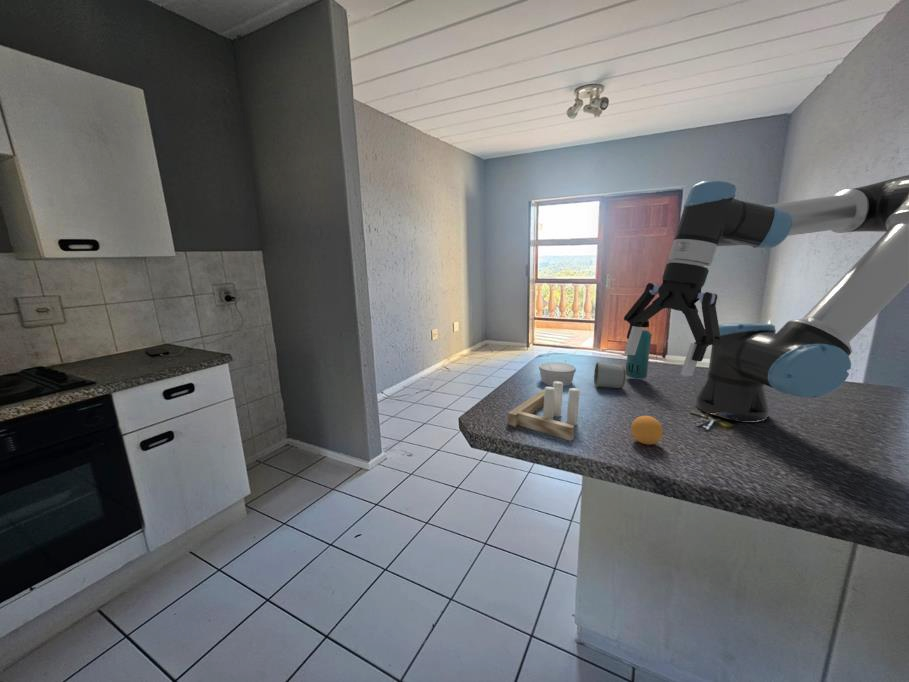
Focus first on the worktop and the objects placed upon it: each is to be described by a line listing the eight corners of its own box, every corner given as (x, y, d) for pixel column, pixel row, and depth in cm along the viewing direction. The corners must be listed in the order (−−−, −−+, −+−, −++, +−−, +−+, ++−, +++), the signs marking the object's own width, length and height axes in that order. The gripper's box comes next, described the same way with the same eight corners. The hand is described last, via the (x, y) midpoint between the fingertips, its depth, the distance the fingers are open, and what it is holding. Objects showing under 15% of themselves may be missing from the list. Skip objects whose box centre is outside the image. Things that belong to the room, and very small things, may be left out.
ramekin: (531, 379, 121) (532, 364, 120) (558, 375, 125) (559, 360, 124) (553, 390, 111) (554, 373, 110) (582, 385, 115) (583, 369, 114)
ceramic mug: (625, 392, 109) (627, 367, 107) (596, 390, 111) (598, 365, 109) (617, 381, 119) (620, 358, 118) (591, 379, 121) (593, 356, 119)
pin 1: (554, 421, 90) (556, 388, 88) (550, 424, 88) (552, 390, 86) (545, 418, 91) (547, 386, 89) (541, 421, 89) (543, 388, 87)
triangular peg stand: (597, 412, 94) (598, 401, 94) (568, 443, 79) (569, 430, 78) (542, 399, 103) (543, 389, 102) (507, 424, 88) (507, 412, 87)
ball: (663, 441, 79) (666, 415, 78) (658, 452, 75) (661, 425, 73) (633, 433, 83) (635, 409, 82) (626, 444, 78) (629, 418, 77)
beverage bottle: (645, 378, 121) (652, 318, 117) (648, 384, 115) (655, 321, 111) (623, 376, 124) (629, 317, 119) (625, 382, 117) (632, 320, 113)
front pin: (578, 422, 89) (581, 389, 87) (575, 426, 87) (577, 392, 85) (568, 420, 90) (571, 387, 88) (565, 423, 88) (567, 390, 86)
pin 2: (562, 414, 93) (564, 382, 92) (558, 417, 92) (560, 385, 90) (553, 411, 95) (555, 380, 93) (549, 415, 93) (551, 383, 91)
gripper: (624, 256, 83) (599, 346, 87) (746, 267, 61) (703, 385, 66) (646, 262, 86) (620, 348, 91) (769, 274, 65) (727, 386, 69)
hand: (655, 364), depth 78 cm, fingers open, 13 cm apart
